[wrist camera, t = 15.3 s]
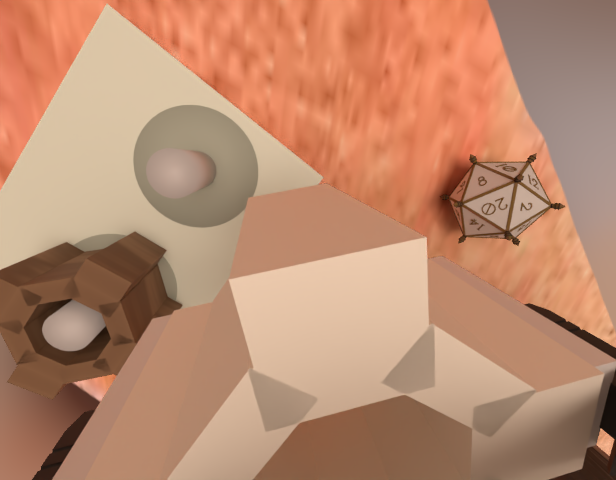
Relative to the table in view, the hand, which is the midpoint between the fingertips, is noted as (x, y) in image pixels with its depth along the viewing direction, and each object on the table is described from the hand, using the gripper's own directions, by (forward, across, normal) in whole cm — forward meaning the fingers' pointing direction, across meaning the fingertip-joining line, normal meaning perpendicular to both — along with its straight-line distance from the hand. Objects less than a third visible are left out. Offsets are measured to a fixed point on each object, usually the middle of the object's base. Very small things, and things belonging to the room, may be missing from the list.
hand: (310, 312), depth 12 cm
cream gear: (0, 0, 0) cm, 0 cm away
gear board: (+17, +11, -3) cm, 21 cm away
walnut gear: (+15, +16, +3) cm, 22 cm away
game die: (+17, -20, +1) cm, 26 cm away
